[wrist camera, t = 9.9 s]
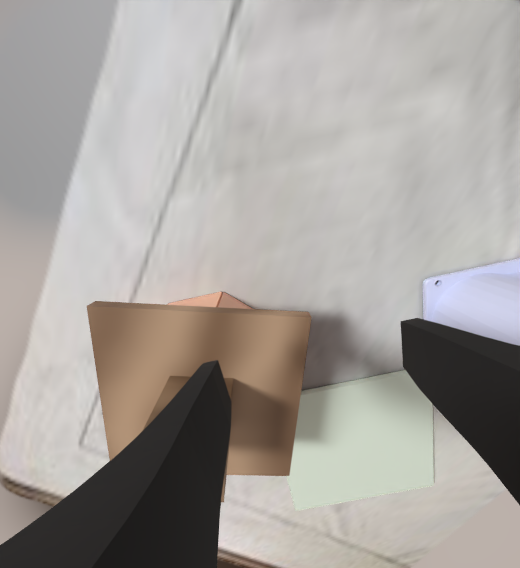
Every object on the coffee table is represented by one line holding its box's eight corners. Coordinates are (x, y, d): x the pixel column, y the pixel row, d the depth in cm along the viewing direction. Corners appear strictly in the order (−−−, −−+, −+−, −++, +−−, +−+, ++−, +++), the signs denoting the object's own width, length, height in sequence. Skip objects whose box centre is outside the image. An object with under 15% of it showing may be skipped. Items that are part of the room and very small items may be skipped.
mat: (428, 365, 22) (432, 368, 22) (430, 480, 26) (433, 485, 26) (266, 397, 23) (266, 402, 22) (294, 505, 27) (295, 511, 27)
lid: (308, 311, 15) (336, 362, 10) (287, 465, 19) (300, 557, 14) (95, 301, 15) (12, 349, 10) (117, 461, 18) (66, 557, 13)
